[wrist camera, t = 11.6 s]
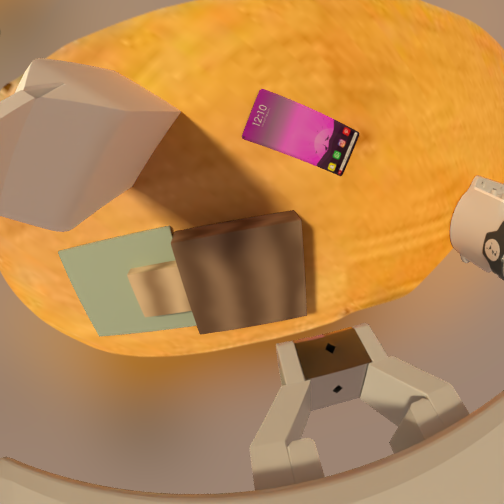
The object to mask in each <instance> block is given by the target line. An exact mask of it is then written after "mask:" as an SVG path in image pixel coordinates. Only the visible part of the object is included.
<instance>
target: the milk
mask: <svg viewBox="0 0 504 504" xmlns="http://www.w3.org/2000/svg"><path fill="white" fill-rule="evenodd" d="M180 113H181V111H180V110H178V109H177V108H175V107H174V106H172V105H170V104H169V103H167V102H166V101H164V100H163V99H161V98H159V97H158V96H156V95H154V94H153V93H151V92H150V91H148V90H146V89H145V88H143V87H141V86H140V85H138V84H136V83H135V82H133V81H131V80H129V79H128V78H126V77H124V76H122V75H121V74H119V73H117V72H115V71H112V70H108V69H103V68H99V67H94V66H89V65H83V64H78V63H72V62H65V61H59V60H51V59H43V58H37V59H34V60H33V61H32V62H31V64H30V66H29V67H28V69H27V70H26V71H25V73H24V75H23V77H22V79H21V81H20V83H19V85H18V87H17V89H16V91H15V94H13V95H11V96H9V97H8V98H6V99H4V100H2V101H1V102H0V216H3V217H6V218H10V219H13V220H17V221H20V222H23V223H27V224H31V225H34V226H38V227H41V228H45V229H49V230H53V231H61V232H64V231H69V230H71V229H73V228H74V227H76V226H77V225H78V224H80V223H81V222H82V221H84V220H85V219H86V218H88V217H89V216H90V215H92V214H93V213H94V212H96V211H97V210H99V209H100V208H101V207H103V206H104V205H106V204H107V203H108V202H110V201H111V200H113V199H114V198H116V197H117V196H119V195H120V194H122V193H123V192H125V191H126V190H128V189H129V188H131V187H132V186H133V184H134V183H135V181H136V179H137V178H138V176H139V174H140V173H141V171H142V169H143V168H144V166H145V165H146V163H147V161H148V160H149V158H150V157H151V155H152V154H153V152H154V150H155V149H156V147H157V146H158V144H159V143H160V141H161V140H162V138H163V137H164V135H165V134H166V133H167V131H168V130H169V128H170V127H171V125H172V124H173V123H174V121H175V120H176V118H177V117H178V116H179V114H180Z"/></svg>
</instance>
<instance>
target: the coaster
mask: <svg viewBox="0 0 504 504" xmlns="http://www.w3.org/2000/svg"><path fill="white" fill-rule="evenodd" d="M127 277H128V279H129V282H130V284H131V287H132V289H133V291H134V294H135V296H136V298H137V301H138V303H139V305H140V308H141V310H142V312H143V314H144V316H145V317H152V316H159V315H166V314H173V313H180V312H187V311H192V310H191V307H190V304H189V301H188V298H187V295H186V292H185V289H184V286H183V283H182V280H181V277H180V273H179V270H178V267H177V264H176V260H174V261H169V262H163V263H158V264H153V265H147V266H142V267H137V268H131V269H130V270H129V272H128V274H127Z"/></svg>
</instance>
